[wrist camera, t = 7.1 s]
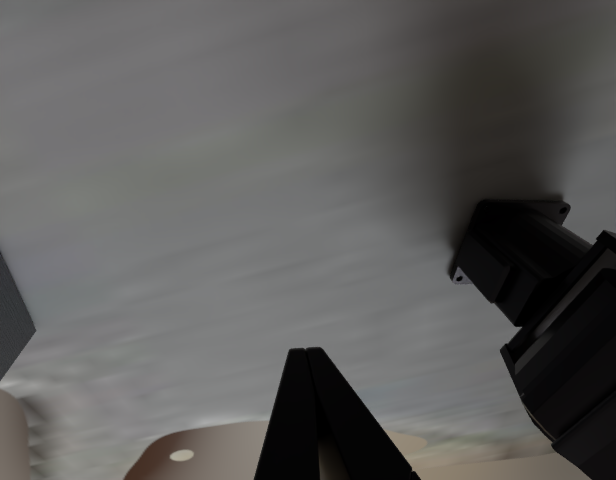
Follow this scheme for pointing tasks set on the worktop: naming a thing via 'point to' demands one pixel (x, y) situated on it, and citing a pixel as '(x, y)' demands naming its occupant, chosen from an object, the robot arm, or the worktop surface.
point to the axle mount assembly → (12, 321)
